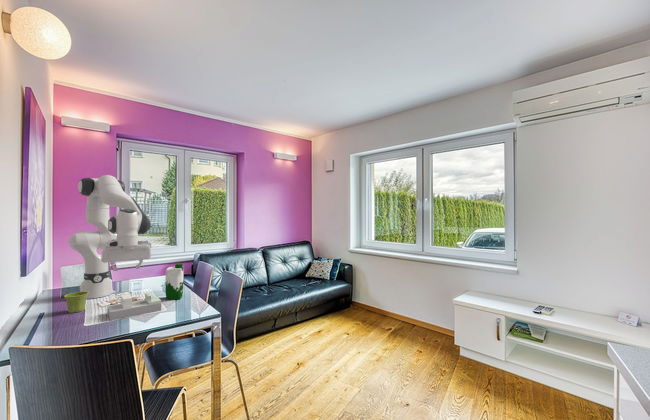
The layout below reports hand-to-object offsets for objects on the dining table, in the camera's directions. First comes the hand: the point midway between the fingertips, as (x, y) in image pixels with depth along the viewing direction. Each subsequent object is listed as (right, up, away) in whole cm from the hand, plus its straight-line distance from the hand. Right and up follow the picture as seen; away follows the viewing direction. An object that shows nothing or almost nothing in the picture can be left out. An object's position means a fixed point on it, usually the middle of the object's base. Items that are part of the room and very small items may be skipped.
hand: (126, 269), depth 141 cm
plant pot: (-28, -22, +3) cm, 36 cm away
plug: (0, -20, 0) cm, 20 cm away
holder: (-7, -22, +13) cm, 26 cm away
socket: (+3, -22, +2) cm, 22 cm away
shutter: (+8, -18, +7) cm, 21 cm away
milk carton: (+10, -23, +25) cm, 35 cm away
